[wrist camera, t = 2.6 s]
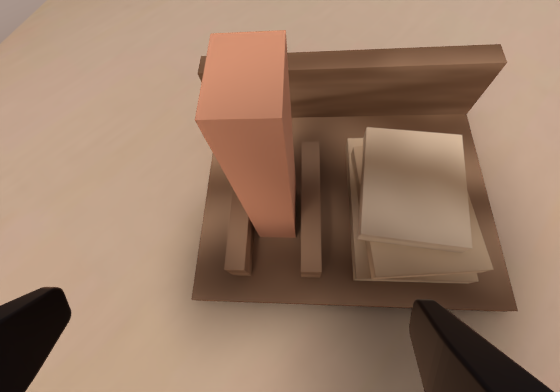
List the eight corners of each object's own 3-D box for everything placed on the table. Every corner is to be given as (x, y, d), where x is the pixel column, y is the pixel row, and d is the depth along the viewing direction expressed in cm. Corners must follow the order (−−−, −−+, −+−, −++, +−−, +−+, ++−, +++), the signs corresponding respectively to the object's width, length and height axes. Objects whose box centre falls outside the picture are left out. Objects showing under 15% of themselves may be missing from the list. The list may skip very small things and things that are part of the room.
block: (295, 237, 20) (282, 118, 8) (259, 237, 20) (194, 120, 8) (296, 191, 21) (285, 30, 9) (262, 191, 22) (210, 34, 10)
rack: (507, 311, 18) (595, 308, 13) (196, 300, 20) (155, 293, 14) (456, 106, 24) (500, 44, 19) (222, 111, 26) (201, 56, 21)
